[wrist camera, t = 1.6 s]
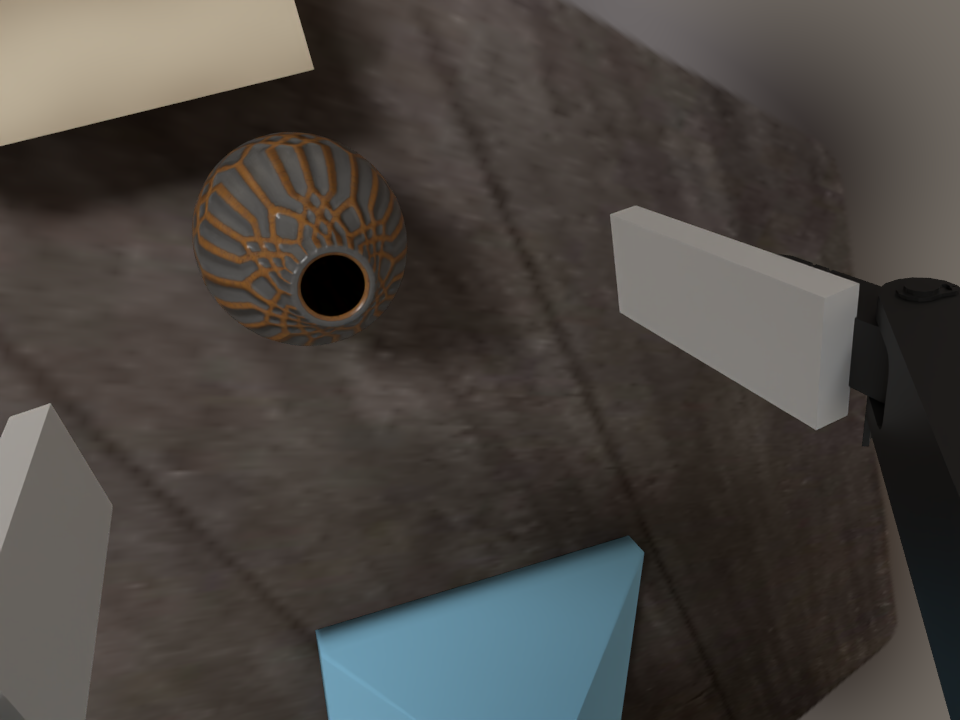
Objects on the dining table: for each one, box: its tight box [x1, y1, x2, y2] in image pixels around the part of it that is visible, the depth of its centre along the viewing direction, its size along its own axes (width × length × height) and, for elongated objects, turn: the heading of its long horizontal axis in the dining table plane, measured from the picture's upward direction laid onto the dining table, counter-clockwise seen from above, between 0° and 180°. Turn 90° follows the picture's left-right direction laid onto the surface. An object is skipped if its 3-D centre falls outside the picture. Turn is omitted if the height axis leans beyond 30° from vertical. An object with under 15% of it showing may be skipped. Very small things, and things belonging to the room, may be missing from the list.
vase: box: [192, 132, 407, 346], centre depth 22 cm, size 7×7×9 cm
